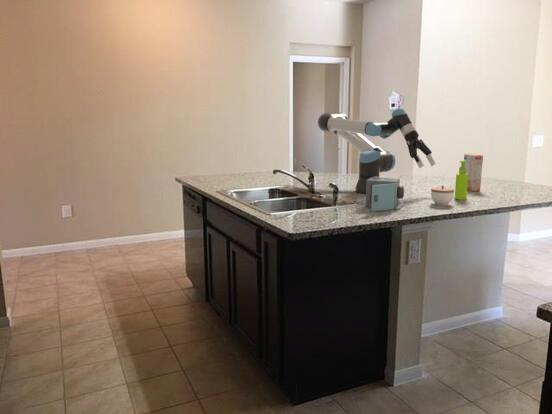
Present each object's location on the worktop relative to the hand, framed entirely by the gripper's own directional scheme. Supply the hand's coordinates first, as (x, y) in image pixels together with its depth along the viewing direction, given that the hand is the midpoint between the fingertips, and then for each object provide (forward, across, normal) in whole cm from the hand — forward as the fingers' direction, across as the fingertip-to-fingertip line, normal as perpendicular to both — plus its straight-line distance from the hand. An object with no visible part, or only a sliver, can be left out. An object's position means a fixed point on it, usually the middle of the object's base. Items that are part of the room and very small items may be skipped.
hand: (427, 166), depth 259 cm
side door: (+17, -55, +3) cm, 58 cm away
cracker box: (+19, +37, +1) cm, 41 cm away
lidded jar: (+24, -21, -6) cm, 33 cm away
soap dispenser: (+24, +2, -6) cm, 25 cm away
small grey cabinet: (+14, -44, +8) cm, 47 cm away
